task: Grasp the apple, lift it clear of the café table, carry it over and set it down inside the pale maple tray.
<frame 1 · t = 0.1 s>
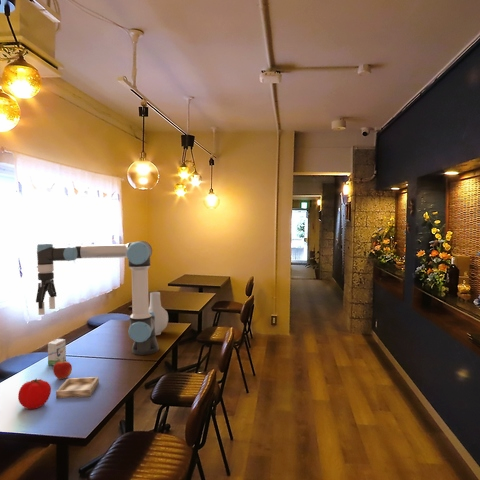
hand: (47, 311, 205), 28 cm above the table, fingers open, 13 cm apart
apple: (62, 378, 185), on the table
ink box: (57, 362, 207), on the table
tray: (78, 390, 171), on the table
tomato: (35, 406, 157), on the table
vase: (156, 334, 258), on the table
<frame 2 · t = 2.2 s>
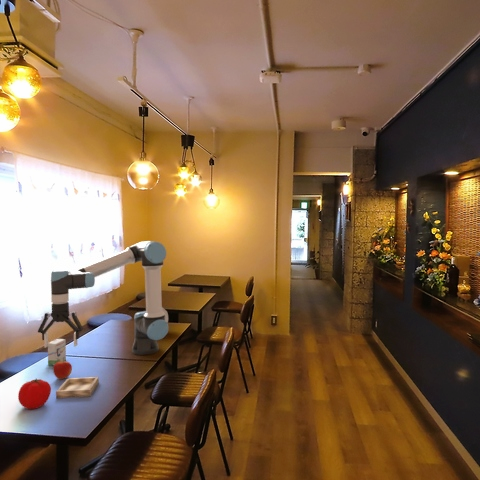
hand: (61, 346, 184), 16 cm above the table, fingers open, 13 cm apart
nothing on the table moved.
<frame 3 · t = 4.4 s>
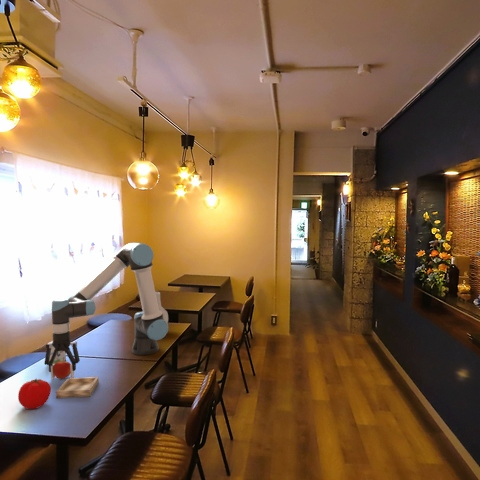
hand: (62, 377, 185), 0 cm above the table, fingers closed on apple, 8 cm apart
apple: (62, 378, 185), on the table, touching gripper
everything else where it was.
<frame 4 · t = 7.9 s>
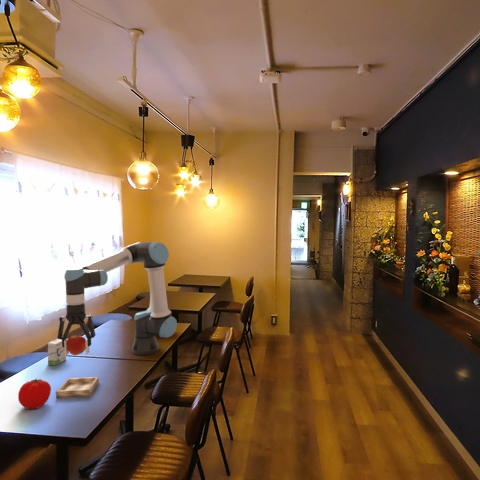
hand: (77, 353, 170), 17 cm above the table, fingers closed on apple, 8 cm apart
apple: (77, 354, 170), point 16 cm above the table, touching gripper
everything else where it was.
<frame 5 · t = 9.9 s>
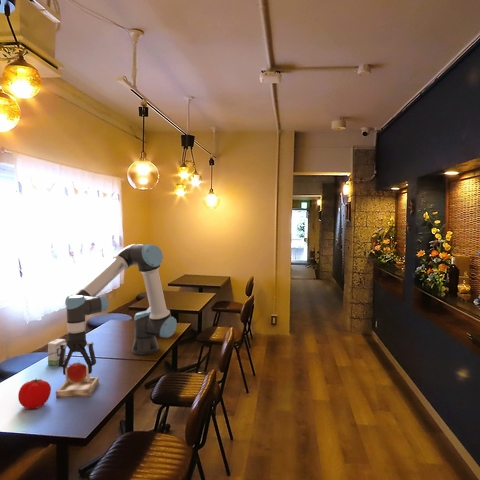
hand: (78, 381, 171), 4 cm above the table, fingers closed on apple, 8 cm apart
apple: (77, 382, 171), point 4 cm above the table, touching gripper
everything else where it was.
when the fingers open (3 cm above the table, at t = 11.2 s): apple drops 1 cm, resting on tray.
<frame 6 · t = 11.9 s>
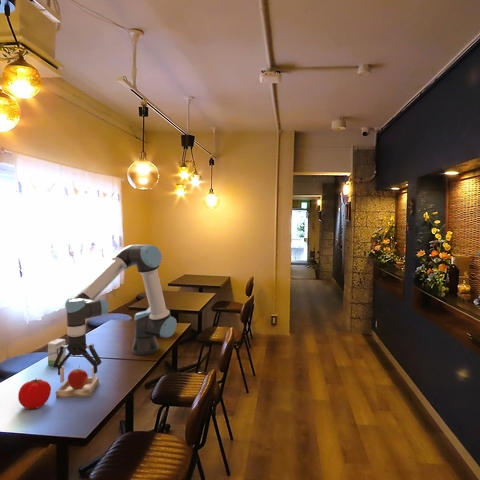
hand: (78, 381, 171), 4 cm above the table, fingers open, 13 cm apart
apple: (78, 388, 171), point 1 cm above the table, touching tray
everything else where it was.
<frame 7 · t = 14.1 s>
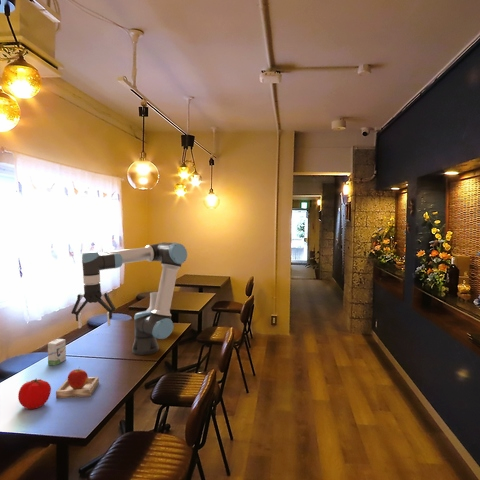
hand: (94, 326, 187), 24 cm above the table, fingers open, 13 cm apart
nothing on the table moved.
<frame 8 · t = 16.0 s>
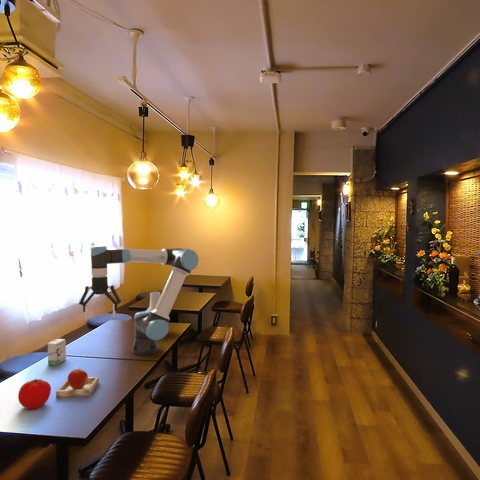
hand: (100, 317, 195), 27 cm above the table, fingers open, 13 cm apart
nothing on the table moved.
at the end: apple inside the target area on the tray (0.1 cm from its centre), point 0.8 cm above the tray's base; the gripper is holding nothing; apple moved 19.2 cm from its start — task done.
